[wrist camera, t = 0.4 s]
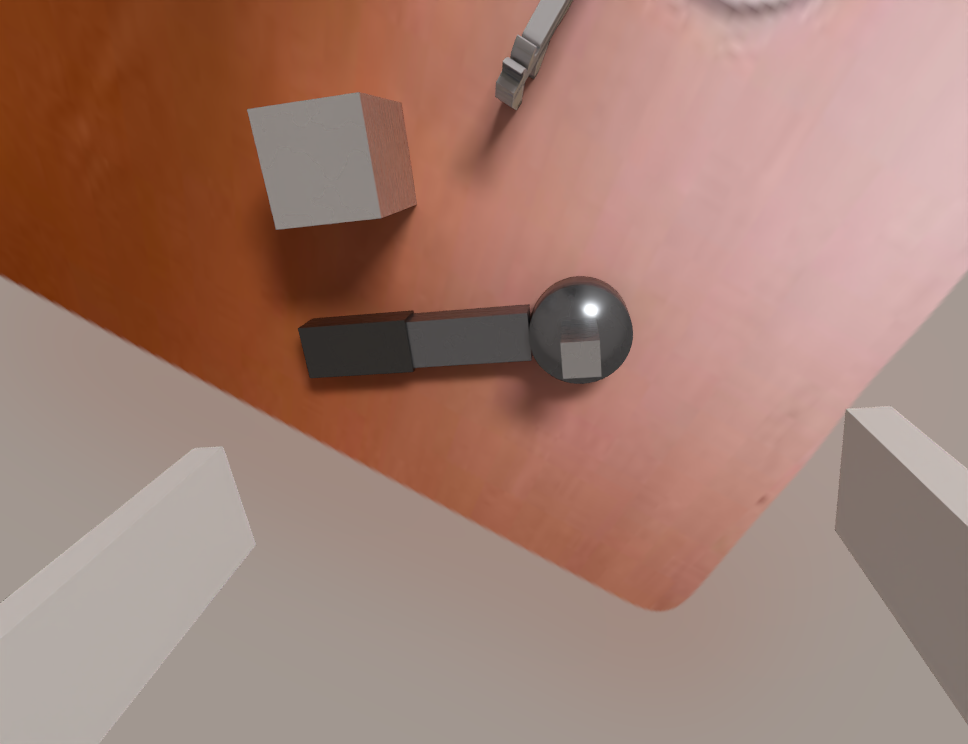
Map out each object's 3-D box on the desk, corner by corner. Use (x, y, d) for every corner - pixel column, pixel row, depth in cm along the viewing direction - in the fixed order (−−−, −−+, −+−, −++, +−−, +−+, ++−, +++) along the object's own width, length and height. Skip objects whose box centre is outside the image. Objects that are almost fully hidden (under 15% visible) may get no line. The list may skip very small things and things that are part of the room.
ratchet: (308, 299, 38) (258, 328, 32) (627, 271, 34) (639, 299, 28) (327, 383, 40) (284, 425, 34) (630, 365, 36) (641, 409, 30)
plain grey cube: (309, 116, 34) (247, 109, 27) (401, 102, 33) (359, 92, 26) (329, 214, 35) (276, 229, 29) (416, 204, 34) (381, 217, 28)
